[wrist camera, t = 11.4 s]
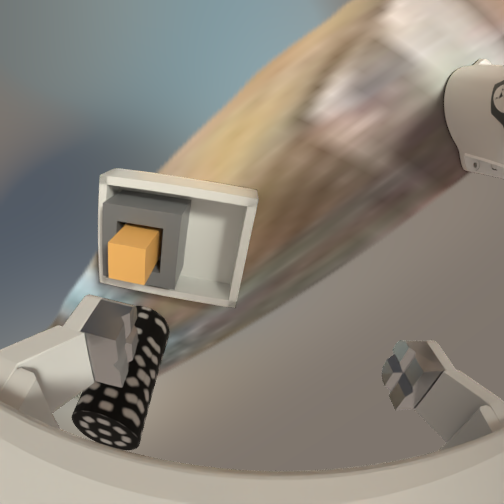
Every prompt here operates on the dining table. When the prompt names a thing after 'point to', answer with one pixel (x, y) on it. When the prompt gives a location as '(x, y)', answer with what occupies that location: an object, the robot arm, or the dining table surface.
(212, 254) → the bay
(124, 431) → the white-spotted black cylinder
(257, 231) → the dining table surface
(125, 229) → the plug
